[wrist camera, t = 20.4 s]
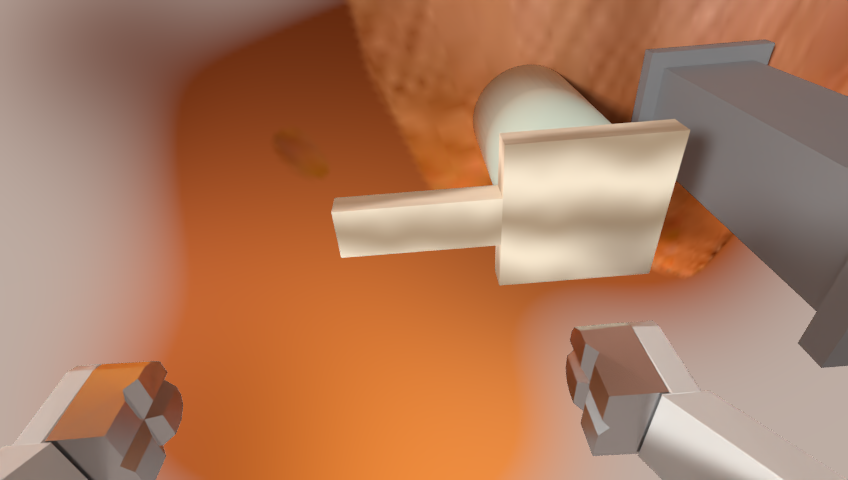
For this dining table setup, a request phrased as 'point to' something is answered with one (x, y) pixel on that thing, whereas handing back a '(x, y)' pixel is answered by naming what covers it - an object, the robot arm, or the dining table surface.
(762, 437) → the robot arm
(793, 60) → the dining table surface
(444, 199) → the cutting board
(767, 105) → the plinth
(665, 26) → the dining table surface
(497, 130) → the crock
